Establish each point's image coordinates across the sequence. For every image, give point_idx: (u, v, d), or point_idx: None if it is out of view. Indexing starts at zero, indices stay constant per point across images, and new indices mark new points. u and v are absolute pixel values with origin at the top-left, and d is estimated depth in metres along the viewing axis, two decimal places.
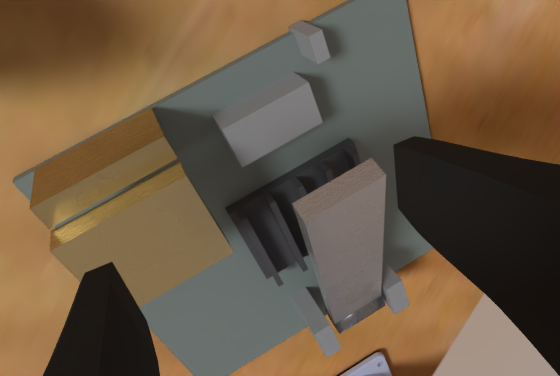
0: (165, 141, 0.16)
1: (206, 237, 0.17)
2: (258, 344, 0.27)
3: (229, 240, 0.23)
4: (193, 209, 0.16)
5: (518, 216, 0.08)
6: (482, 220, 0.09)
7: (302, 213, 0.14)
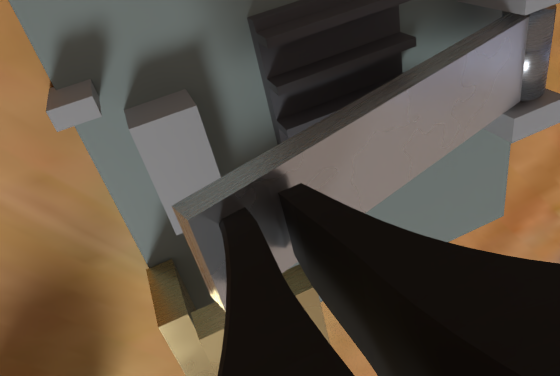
0: (165, 325, 0.15)
1: None
2: (492, 157, 0.21)
3: None
4: None
5: (369, 288, 0.07)
6: (348, 284, 0.08)
7: (219, 303, 0.11)
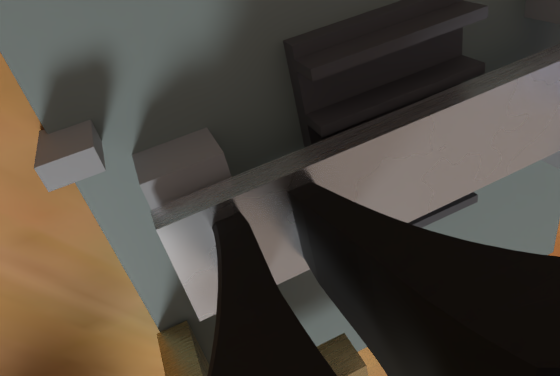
0: None
1: None
2: (547, 190, 0.19)
3: None
4: None
5: (377, 284, 0.08)
6: (355, 281, 0.09)
7: None
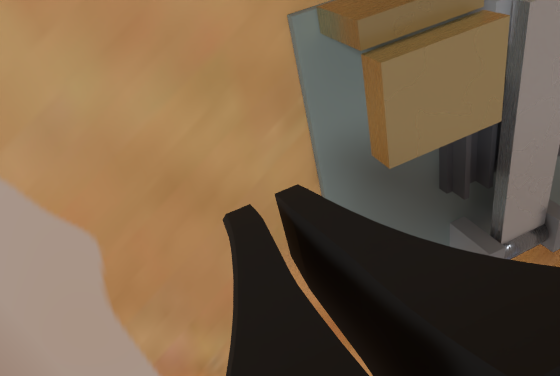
0: None
1: (491, 94, 0.16)
2: None
3: None
4: (497, 57, 0.16)
5: (364, 290, 0.07)
6: (344, 286, 0.08)
7: (525, 0, 0.17)
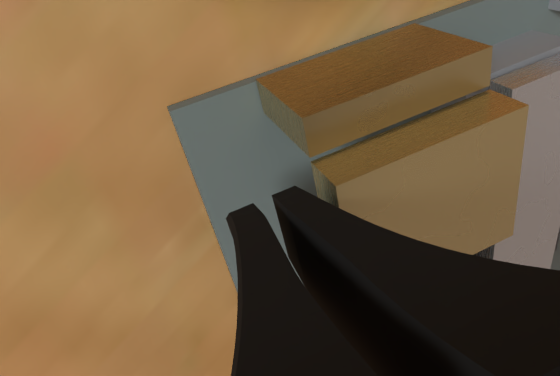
0: (489, 55, 0.11)
1: (500, 205, 0.12)
2: None
3: None
4: (509, 160, 0.11)
5: (360, 292, 0.07)
6: (339, 288, 0.08)
7: (506, 84, 0.12)
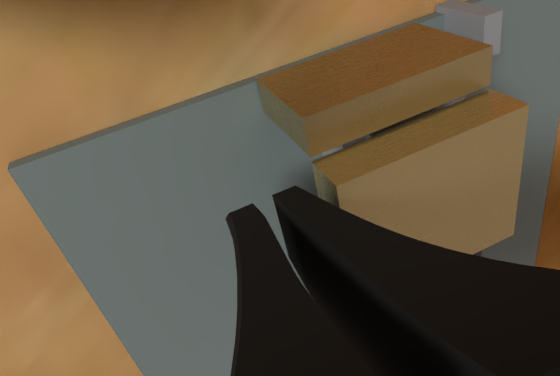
0: (490, 54, 0.11)
1: (501, 205, 0.12)
2: None
3: None
4: (509, 159, 0.11)
5: (360, 292, 0.07)
6: (340, 288, 0.08)
7: None
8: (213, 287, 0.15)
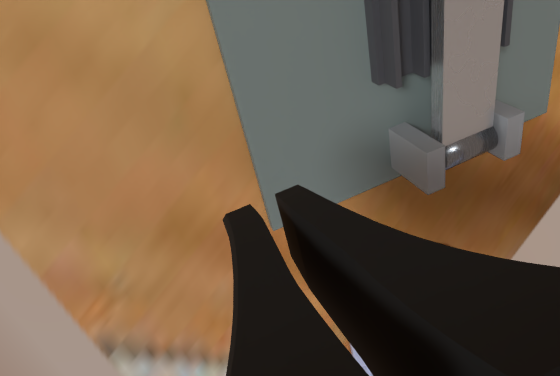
0: None
1: None
2: (340, 186, 0.24)
3: (352, 19, 0.19)
4: None
5: (364, 291, 0.07)
6: (344, 286, 0.08)
7: None
8: None
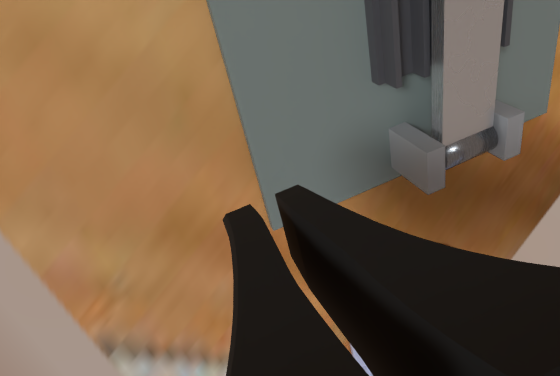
0: None
1: None
2: (340, 186, 0.24)
3: (352, 19, 0.19)
4: None
5: (364, 291, 0.07)
6: (343, 286, 0.08)
7: None
8: None
